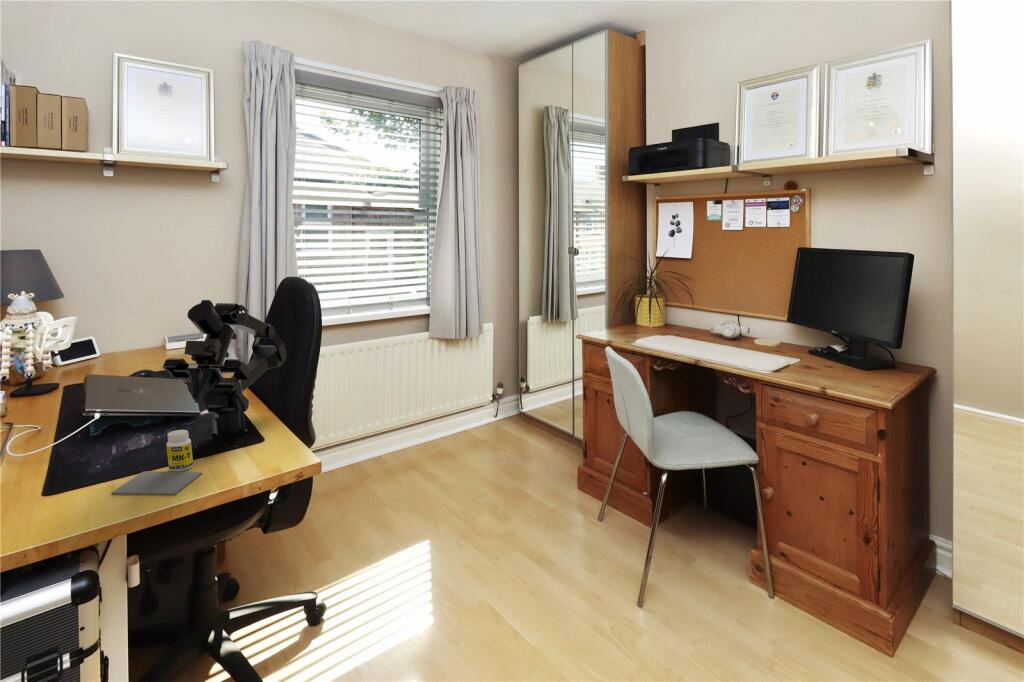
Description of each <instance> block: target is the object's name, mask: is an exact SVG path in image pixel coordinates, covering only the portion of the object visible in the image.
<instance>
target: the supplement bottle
mask: <svg viewBox="0 0 1024 682" xmlns="http://www.w3.org/2000/svg"><path fill="white" fill-rule="evenodd" d="M189 436H190V434H189V431H188V430H187V429H177V430H176V429H175V430H172V431H170V432H168V433H167V440H168V441H167V442H166V452H167V453H166V454H167V455H166V456H167V464H168V470H169V471H170V472H184V471H186V470H189V469H191V468H193V466H194V459H193V450H192V449H193V448H192V440H191V438H190V437H189Z"/></svg>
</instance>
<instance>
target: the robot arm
mask: <svg viewBox="0 0 1024 682" xmlns="http://www.w3.org/2000/svg"><path fill="white" fill-rule="evenodd" d="M187 319H189V320H190V322H191V323H192V325H194V326H195V328H196V329H198V331H199V332H200V333H201V334H203V335H205V337H204V340H186V341H185V347H184V352H183V353H184V355H188V356H191V357H190V360H192V361H193V362H187V361H186V360H185V359H184V358H182V357H181V358H175V357H173V358H171V357H169V358H166V359H165V361H164V362H163V365H162V368H163V369H164V370H165V371H166V372H167V373H168V374H169V376H170V377H171V378H174V379H177V380H180V379H182V380H183V379H184V380H186V379H189V378H191V381H192V398H193V400H194V401H200V400H201V399H203V402H204V405H205V407H206V410H207V413H213V416H214V417H213V418H211V419H212V427H213V429H212V432H213V434H215V435H217V436H218V437H220V438H222V439H226V438H230V437H234V436H237V435H241V434H244V433H248V432H249V431H248V429H246V428H245V416H244V413H245V412H247V411H248V409H249V405H250V400H249V398H247V397H246V396H245V395H244V391H246V390H247V389H248V388H249V387H250V386H251V385H252V384H253V383H255V381H256V380H258V379H259V378H260V377H261V376H262V375H263V374H264V373H265V372H266V371H267V370H271V369H274V368H278V367H279V366H282V365H283V364H284V362H285V361H286V359H287V350H286V346H285V343H284V341H283V340H282V339H281V337H280V336H278V334H277V333H276V330H275V327H274V325H271V324H269V323H266V322H264V321H262V320H260V319H259V318H256V317H254V316H253V315H251V314H249V310H248V308H246V307H245V306H244V305H243V304H242V303H234V302H231V303H229V302H228V303H227V302H224V303H223V302H217V303H216V304H215V305H214V304H213V302H212V300H211V299H201V302H200V303H198V304H195V305H194V306H192V307H191V308H189V309H188V311H187ZM232 327H235V328H237V329H239V330H242V331H243V332H246V333H248V334H249V335H251V336H253V342H252V345H251V350H252V355H253V358H252V359H251V360H250V361H249V362H247V363H245V362H244V361H243V360H242V359H241V358H239V359H237V358H229V357H230V353H229V352H228V350H229V348H230V345H231V342H232V340H237V339H238V337H237V334H236V332H235V329H233V328H232ZM260 339H268V340H269V341H270V342H271V344H272V345H261V344H260ZM226 358H228V359H226ZM228 373H229V374H230V373H231V374H232V373H233V375H232V376H231V377H225V375H226V374H228Z"/></svg>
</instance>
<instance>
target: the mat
mask: <svg viewBox="0 0 1024 682" xmlns="http://www.w3.org/2000/svg"><path fill="white" fill-rule="evenodd" d="M202 473H203V471H150V470H149V471H148V470H147V471H142V472H141V473H139V474H137V475H136V476H134V477H133V478H131V479H130V480H128V481H126V482H125V483H123V484H122V485H121V486H119V487H118V488H115V489H114V490H113V491H111V492H110V493H111V495H137V496H138V495H141V496H142V495H144V496H146V495H149V496H151V495H153V496H157V495H158V496H176V495H177V494H179V493H180V492H181V491H183V490H184V489H185V488H186V487H188V486H189V485H190V484H191V482H192V483H193V482H194V481H195V480H196V478H197V477H198V478H199V477H201V476H202V475H203V474H202ZM201 474H202V475H201ZM198 478H197V479H198Z"/></svg>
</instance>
